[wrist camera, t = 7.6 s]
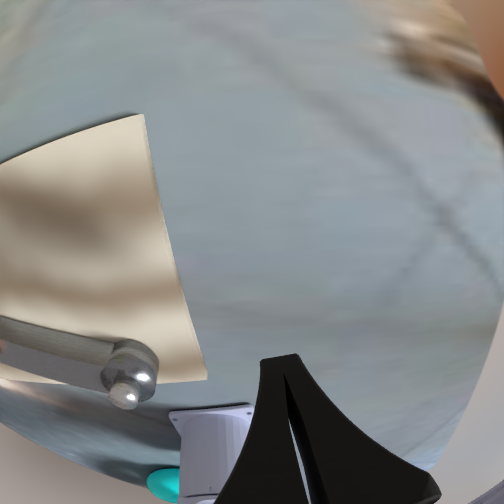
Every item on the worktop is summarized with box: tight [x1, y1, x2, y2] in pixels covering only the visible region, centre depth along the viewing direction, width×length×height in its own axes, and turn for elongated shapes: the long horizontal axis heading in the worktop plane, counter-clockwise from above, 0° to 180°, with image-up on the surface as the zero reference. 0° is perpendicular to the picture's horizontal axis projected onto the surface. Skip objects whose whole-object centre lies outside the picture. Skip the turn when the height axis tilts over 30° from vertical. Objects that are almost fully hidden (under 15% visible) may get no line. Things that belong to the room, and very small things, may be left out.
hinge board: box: [0, 114, 207, 384], centre depth 18 cm, size 19×24×1 cm
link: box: [0, 316, 160, 410], centre depth 18 cm, size 16×4×4 cm, turn 81°
